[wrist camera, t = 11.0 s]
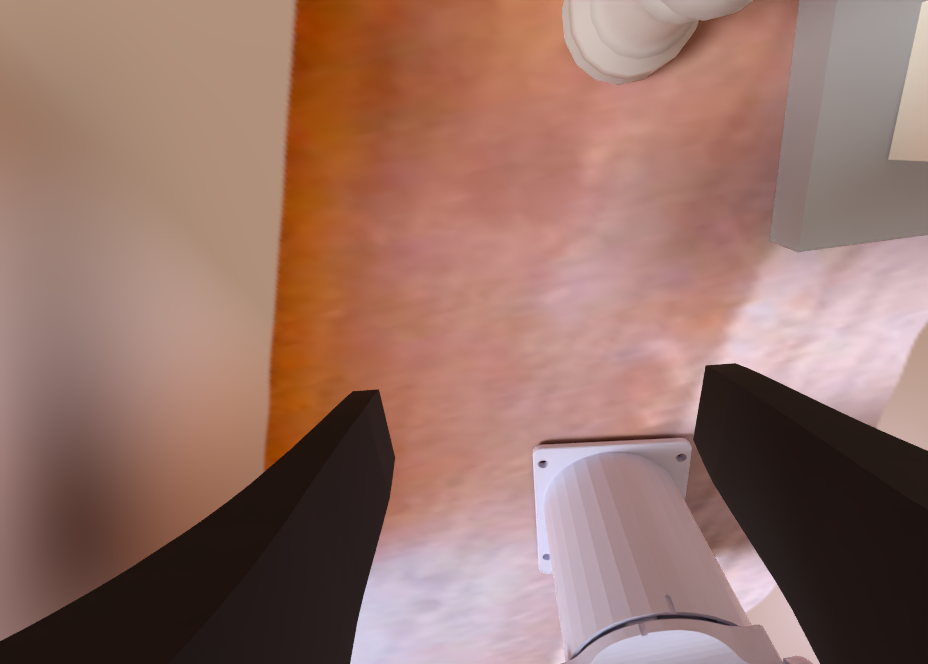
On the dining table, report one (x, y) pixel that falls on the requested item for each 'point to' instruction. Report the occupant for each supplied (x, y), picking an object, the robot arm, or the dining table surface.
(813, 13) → the slate block
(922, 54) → the cream cube
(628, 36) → the rook chess piece
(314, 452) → the robot arm
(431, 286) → the dining table surface
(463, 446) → the dining table surface
